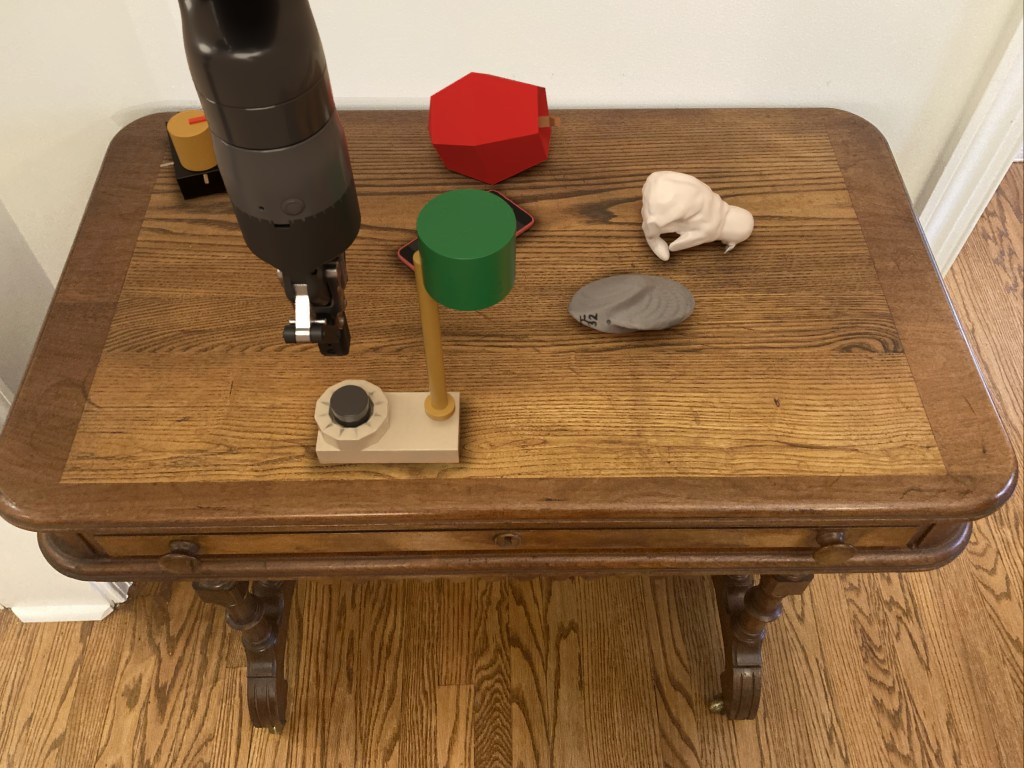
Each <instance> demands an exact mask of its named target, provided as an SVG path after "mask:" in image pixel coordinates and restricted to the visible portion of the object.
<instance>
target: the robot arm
mask: <svg viewBox="0 0 1024 768" xmlns="http://www.w3.org/2000/svg"><path fill="white" fill-rule="evenodd" d="M177 3H178V8H179V14H180V19H181V32H182V42H183V48H184V49H183V50H184V54H185V58H186V63H187V67H188V70H189V73H190V78H191V80H192V82H193V86H194V88H195V92H196V94H197V97H198V99H199V102H200V103H199V104H200V105H201V108H202V111H203V112H204V114H205V117H206V120H207V123H208V126H209V129H210V133H211V138H212V144H213V149H214V154H215V158H216V162H217V165H218V168H219V171H220V173H221V176H222V179H223V182H224V184H225V187H226V190H227V191H226V192H227V196H228V197H229V202H230V205H231V207H232V209H233V212H234V215H235V218H236V220H237V223H238V226H239V229H240V233H241V234H242V238H243V241H244V242H245V244H246V246H247V248H248V249H249V251H250V252H251V253H252V254H253V255H254V256H255V257H257V258H258V259H259V260H261V261H262V262H264V263H266V264H268V265H270V266H271V267H273V268H274V269H276V273H277V275H276V276H277V279H278V281H279V284H280V286H281V288H283V289H284V294H285V297H286V299H287V300H288V301H289V302H290V303H291V307H292V309H293V311H294V312H295V318H294V317H293V318H289V319H288V324H285V325H284V327H283V331H282V338H283V341H284V343H285V344H286V345H287V344H289V345H290V344H291V345H293V344H294V345H295V344H296V345H298V344H299V345H300V344H301V345H302V344H303V345H304V344H306V345H307V344H317V346H318V350H319V353H320V354H321V355H322V356H323V357H347V356H348V355H349V354H350V349H351V341H352V336H351V331H350V327H349V324H348V320H347V319H348V318H347V316H346V315H347V314H346V307H347V306H348V300H347V299H346V294H345V290H346V289H347V286H348V285H347V284H348V282H349V274H348V269H347V260H346V258H347V257H346V251H347V250H348V249H349V248H350V247H351V246H352V245H353V243H354V242H355V241H356V239H357V237H358V235H359V233H360V229H361V225H362V213H361V209H360V204H359V198H358V193H357V189H356V183H355V179H354V172H353V168H352V162H351V157H350V153H349V147H348V142H347V137H346V133H345V130H344V126H343V122H342V120H341V117H340V115H339V112H338V109H337V106H336V103H335V99H334V94H333V89H332V83H331V77H330V74H329V68H328V63H327V58H326V54H325V50H324V46H323V42H322V39H321V36H320V32H319V29H318V26H317V23H316V20H315V16H314V14H313V11H312V8H311V5H310V1H309V0H177Z"/></svg>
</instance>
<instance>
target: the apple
mask: <svg viewBox="0 0 1024 768" xmlns="http://www.w3.org/2000/svg"><path fill="white" fill-rule="evenodd" d="M549 111H550V110H549V105H548V97H547V90H546V87H544V86H539V85H535V84H532V83H528V82H523V81H519V80H515V79H512V78H508V77H507V78H506V77H502V76H499V75H494V74H490V73H482V72H476V71H475V72H474V71H470V72H469V73H468V74H466V75H464V76H461V77H460V78H459V79H457V80H455V81H454V82H452V83H450V84H448V85H446V86H445V87H443V88H442V89H440V90H438V91H436V92H435V93H434V94H432V95H430V97H429V109H428V120H427V132H428V135H429V138H430V141H431V144H432V146H433V148H434V149H435V151H436V153H437V155H438V156H439V158H440V160H441V162H442V164H443V165H444V167H445V168H446V169H447V170H450V171H451V172H455V173H458V174H461V175H464V176H467V177H468V178H472V179H474V180H476V181H480V182H483V183H486V184H488V185H490V186H494V185H496V184H498V183H501V182H502V181H505V180H507V179H508V178H511V177H513V176H515V175H517V174H519V173H522V172H524V171H525V170H528V169H529V168H532V167H534V166H536V165H539V164H540V163H542V162H544V161H547V160H548V159H549V151H550V143H551V138H552V137H551V135H552V127H558V126H562V119H561V118H560V116H558V115H550V112H549Z"/></svg>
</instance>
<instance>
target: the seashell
mask: <svg viewBox="0 0 1024 768" xmlns="http://www.w3.org/2000/svg"><path fill="white" fill-rule="evenodd" d="M695 308H696V300H695V296H694V295H693V293H692V292H691V291H690V289H688V288H687V287H686V286H685V285H683V284H682V283H679V281H676V280H674V279H671V278H666V277H664V276H659V275H653V274H640V273H629V274H628V273H627V274H625V273H623V274H617V275H611V276H607V277H604V278H600V279H597V280H594V281H591V282H589V283H587V284H585V285H583V286H582V287H580V288H579V289H578V290H577V291H576V292H574V294H573V296H572V297H571V299H570V301H569V303H568V305H567V312H568V314H569V315H570V316H571V317H572V318H574V319H575V320H576V321H577V322H579V323H580V324H582V326H583V325H584V326H586V327H588V328H590V329H594V330H595V331H599V332H602V333H605V334H614V335H623V334H631V333H635V332H638V331H655V330H659V331H660V330H665V329H669V328H673V327H675V326H678V325H680V324H681V323H684V321H685V320H686V319H688V318H689V317H691V315H693V313H694V310H695Z"/></svg>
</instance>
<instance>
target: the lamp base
mask: <svg viewBox="0 0 1024 768" xmlns="http://www.w3.org/2000/svg"><path fill="white" fill-rule="evenodd" d="M346 385H356V386H359V387H361V388H363V389H364V390H365V391H366V393H367V395H368V398H369V402H370V407H371V413H370V416H369V418H368V419H367V420H366V421H365V422H364V423H363V424H361V425H359V426H356V427H344V426H341V425H340V424H338V423H337V422H336V421H335V419H334V417H333V414H332V410H331V407H330V398H331V396H332V394H333V393H334V392H335V391H336V390H337V389H339V388H340V387H343V386H346ZM447 393H449V394H450V395H452V396H453V398H454V400H455V412H454V414H453V415H452V416H451V417H450V418H449V419H447V420H444V421H435V420H432V419H430V418H429V417H428V416H427V415H426V413H425V408H424V402H425V399H426V398H427V397H428V396H429V395H430V391H392V392H391V391H387V392H386V391H383V390H382V389H381V387H380V386H377V385H375V384H373V383H371V382H369V381H368V380H366V379H345V380H341V381H340V382H338V383H335V384H333V385H331V386H328V388H327V389H326V390H325V391H323V393H322V394H321V395H320V397H319V398H318V399H316V401H315V402H316V403H315V408H314V415H313V416H314V421H315V425H316V427H317V437H316V443H315V453H316V457H317V459H318V462H319V464H458V463H460V447H461V446H460V445H461V444H460V442H461V412H462V411H461V410H462V409H461V408H462V403H461V393H460V391H447Z"/></svg>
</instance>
